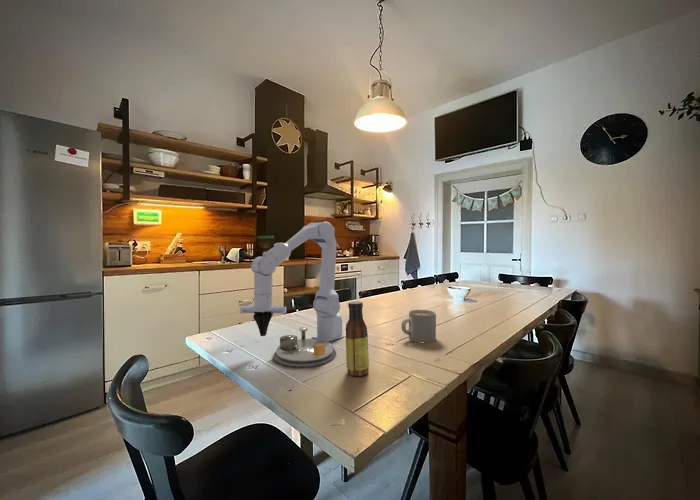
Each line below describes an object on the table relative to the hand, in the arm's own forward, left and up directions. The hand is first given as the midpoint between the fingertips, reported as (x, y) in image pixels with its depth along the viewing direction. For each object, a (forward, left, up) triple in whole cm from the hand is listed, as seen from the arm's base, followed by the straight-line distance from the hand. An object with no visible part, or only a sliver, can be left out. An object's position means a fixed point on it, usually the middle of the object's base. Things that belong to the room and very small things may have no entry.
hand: (263, 335), depth 100 cm
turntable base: (-10, +10, -6) cm, 15 cm away
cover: (-6, +6, -4) cm, 9 cm away
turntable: (-10, +10, -6) cm, 15 cm away
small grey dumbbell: (-16, -1, -6) cm, 17 cm away
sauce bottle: (-13, +31, -7) cm, 34 cm away
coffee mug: (-51, +25, -7) cm, 57 cm away
